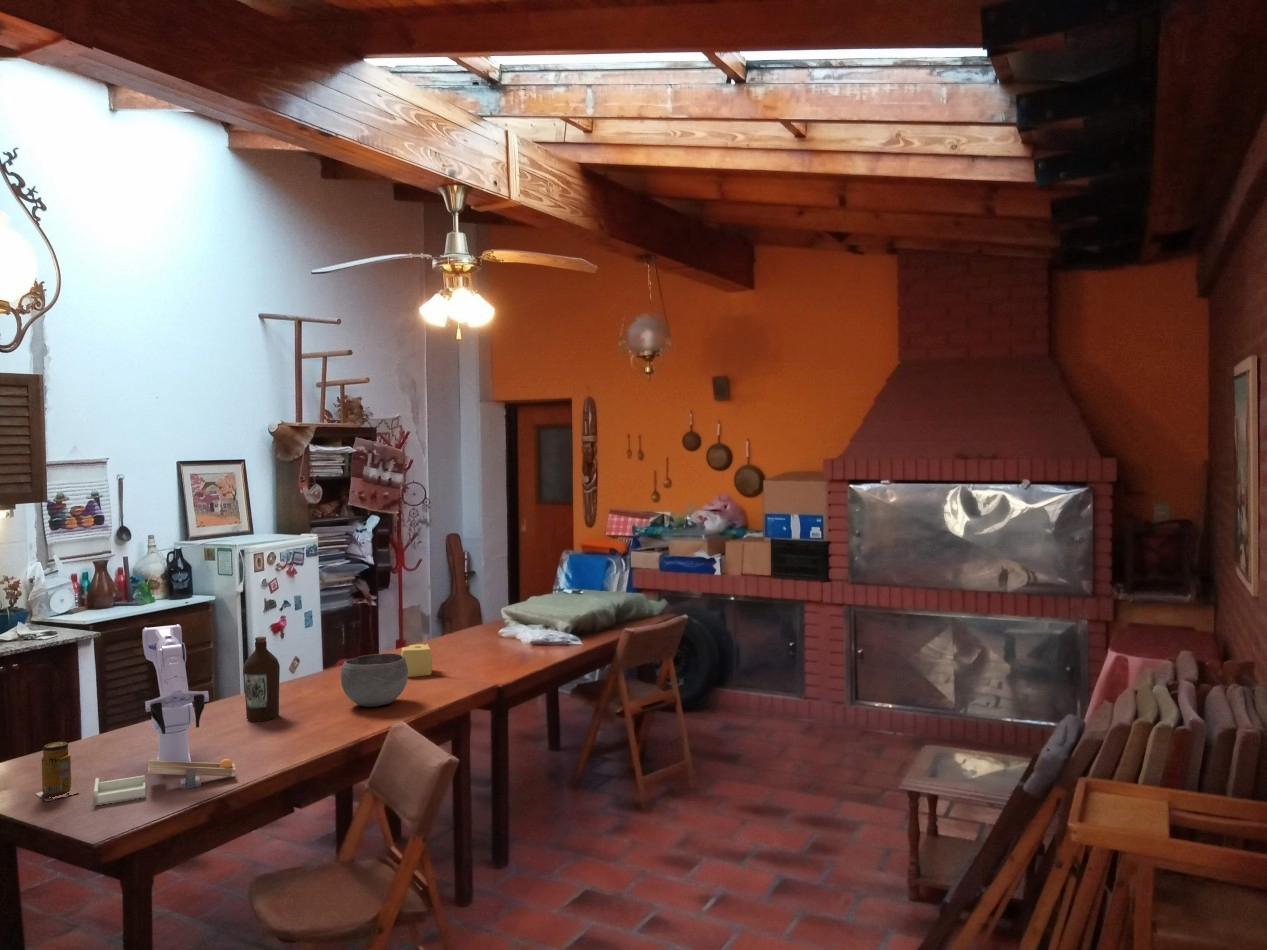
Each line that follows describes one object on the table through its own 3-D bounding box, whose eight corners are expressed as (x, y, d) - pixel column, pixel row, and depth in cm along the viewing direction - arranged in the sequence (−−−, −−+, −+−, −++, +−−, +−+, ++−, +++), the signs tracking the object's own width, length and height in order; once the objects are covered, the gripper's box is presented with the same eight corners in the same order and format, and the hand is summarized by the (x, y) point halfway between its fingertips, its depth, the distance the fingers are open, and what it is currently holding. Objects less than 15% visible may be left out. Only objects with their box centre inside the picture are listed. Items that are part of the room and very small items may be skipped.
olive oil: (254, 712, 304) (252, 634, 304) (287, 712, 303) (284, 634, 303) (237, 722, 294) (235, 640, 293) (271, 722, 293) (268, 640, 292)
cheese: (400, 671, 357) (400, 645, 357) (430, 669, 361) (429, 643, 360) (402, 678, 347) (401, 650, 347) (432, 675, 351) (432, 648, 350)
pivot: (180, 781, 241) (179, 764, 241) (199, 778, 243) (198, 761, 243) (181, 789, 235) (180, 773, 235) (201, 786, 237) (200, 769, 237)
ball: (217, 768, 243) (221, 756, 244) (229, 769, 245) (233, 758, 245) (218, 771, 241) (222, 759, 241) (231, 773, 242) (234, 761, 242)
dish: (96, 792, 234) (95, 778, 234) (145, 784, 239) (144, 770, 239) (94, 806, 225) (94, 791, 225) (145, 797, 230) (145, 783, 230)
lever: (147, 761, 242) (148, 753, 242) (230, 765, 251) (231, 757, 251) (147, 774, 232) (149, 766, 232) (234, 777, 241) (235, 769, 241)
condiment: (68, 786, 239) (66, 738, 239) (79, 794, 233) (78, 745, 233) (35, 794, 234) (33, 745, 234) (46, 802, 228) (44, 752, 228)
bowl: (417, 696, 321) (416, 651, 320) (395, 713, 300) (394, 666, 299) (356, 695, 323) (355, 651, 323) (330, 713, 302) (329, 665, 302)
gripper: (143, 679, 242) (147, 725, 233) (205, 669, 249) (212, 713, 240) (144, 696, 246) (148, 741, 238) (205, 685, 253) (212, 729, 245)
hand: (180, 728), depth 239 cm, fingers open, 7 cm apart
